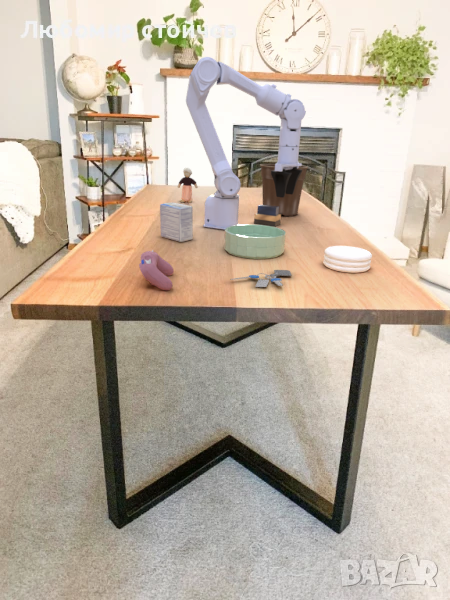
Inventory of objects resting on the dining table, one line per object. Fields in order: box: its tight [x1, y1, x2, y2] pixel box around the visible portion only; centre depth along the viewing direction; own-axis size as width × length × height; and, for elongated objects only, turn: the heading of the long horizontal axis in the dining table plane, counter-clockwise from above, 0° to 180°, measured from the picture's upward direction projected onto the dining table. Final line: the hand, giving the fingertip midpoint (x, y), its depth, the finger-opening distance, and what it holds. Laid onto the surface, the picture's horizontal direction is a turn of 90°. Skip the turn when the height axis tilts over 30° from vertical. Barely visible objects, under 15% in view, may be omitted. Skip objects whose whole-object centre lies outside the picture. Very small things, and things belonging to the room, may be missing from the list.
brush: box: [253, 204, 282, 227], centre depth 135 cm, size 7×4×6 cm, turn 63°
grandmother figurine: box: [177, 167, 199, 204], centre depth 168 cm, size 8×4×13 cm, turn 95°
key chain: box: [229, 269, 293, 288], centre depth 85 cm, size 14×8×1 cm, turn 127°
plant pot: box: [259, 163, 309, 217], centre depth 151 cm, size 16×16×16 cm
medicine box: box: [159, 202, 194, 243], centre depth 113 cm, size 8×4×9 cm, turn 47°
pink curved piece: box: [138, 249, 175, 291], centre depth 81 cm, size 10×5×7 cm, turn 5°
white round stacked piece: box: [322, 245, 373, 274], centre depth 96 cm, size 10×10×4 cm
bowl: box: [223, 223, 287, 260], centre depth 105 cm, size 14×14×5 cm
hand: (284, 195), depth 129 cm, fingers open, 7 cm apart
